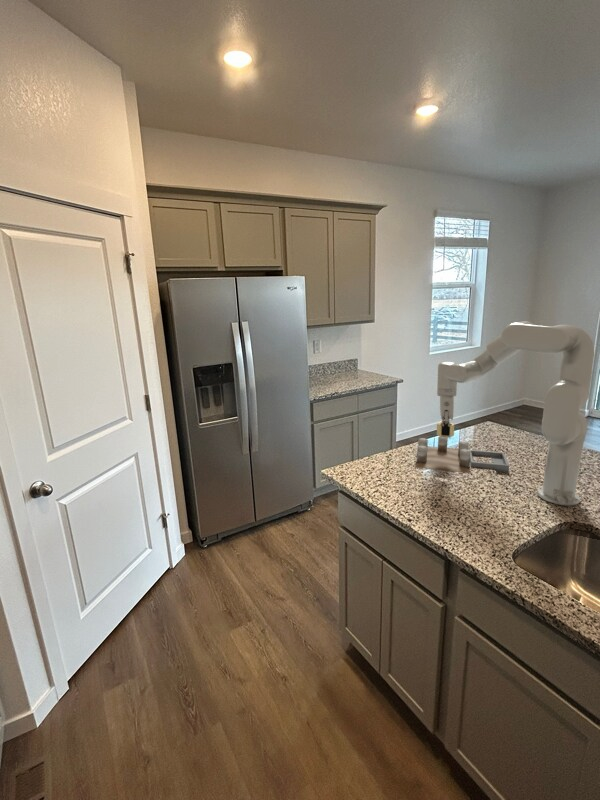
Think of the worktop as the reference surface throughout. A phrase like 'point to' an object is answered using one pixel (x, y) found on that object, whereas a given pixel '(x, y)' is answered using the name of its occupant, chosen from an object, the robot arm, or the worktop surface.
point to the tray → (497, 458)
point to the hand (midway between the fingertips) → (445, 432)
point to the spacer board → (443, 456)
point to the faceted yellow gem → (439, 430)
